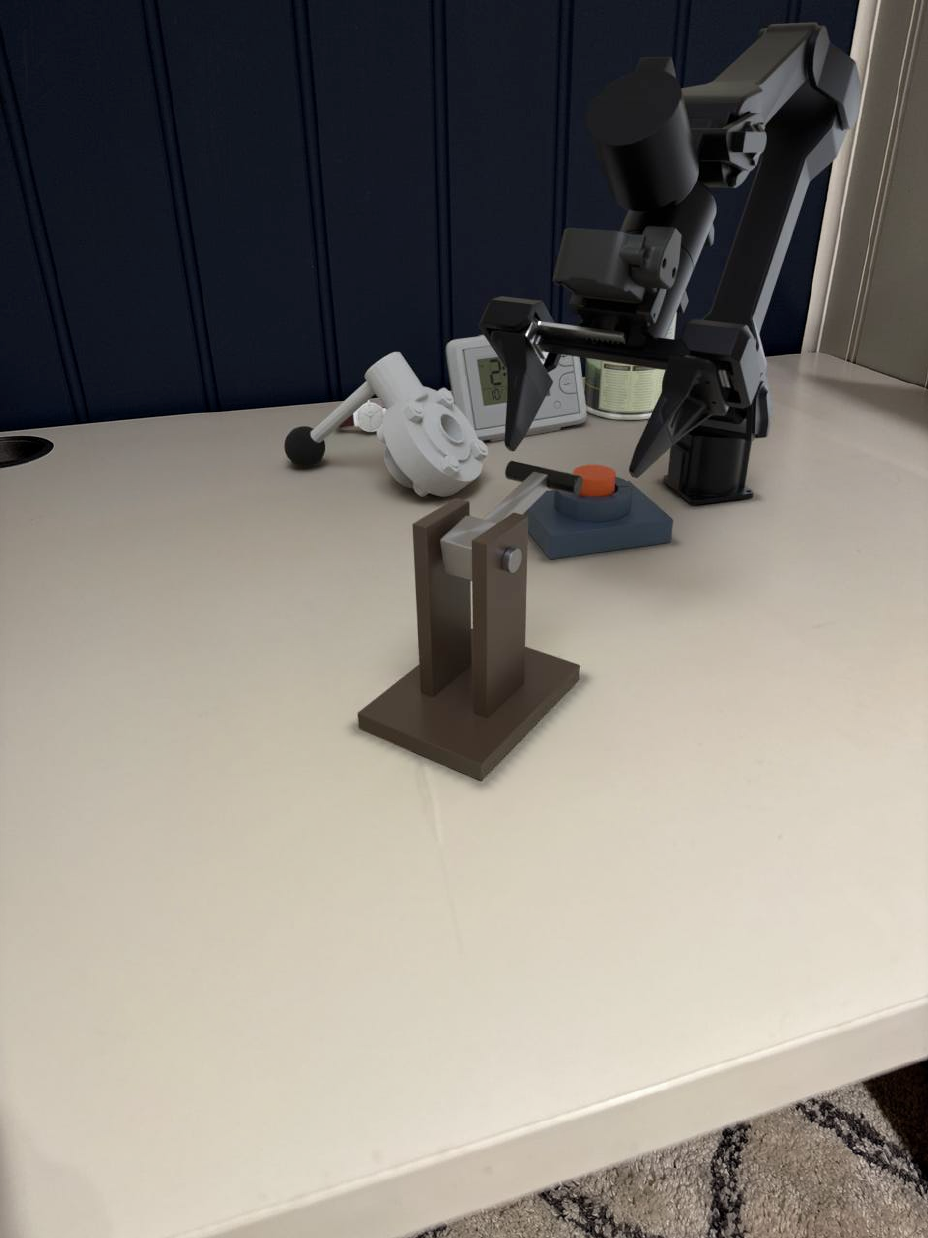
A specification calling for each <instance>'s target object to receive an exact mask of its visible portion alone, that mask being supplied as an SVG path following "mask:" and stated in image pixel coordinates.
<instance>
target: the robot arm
mask: <svg viewBox="0 0 928 1238" xmlns="http://www.w3.org/2000/svg"><path fill="white" fill-rule="evenodd" d="M857 65H858V64H857V62H856V60H855V59H854V58H852V57H851V56H849V55H848V54H847V53H845V52H844V51H843V50H841V48H839V47H837V46H836V45H835V44H833V43H832V42H831V41H830V37H829V33H828V29H827V27H826V25H818V23H817V22H816V21H815V22H797V23H795V22H794V23H776V24H775V23H773V24H769V25H768V27H766V28H760V30H759V31H758V32H757V35H756V38H755V39H754V43H752V45H750V46H749V47H748V48H747V49H746V50H745V51H744V52H743V53H742V54H741V55H739V56H738V57H737V59H735V60H734V61H733V62H732V63H730V65H728V67H727V68H726V69H725V70H724V71H722V72H721V73H720V74H719V75H718V76H717V77H716V78H715V79H714V80H713V81H710V82H707V83H705V84H704V83H703V84H699V85H693V86H689V87H683V88H682V87H681V83H680V81H679V80H678V79H677V77H676V70H675V65H674V61H673V59H672V56H652V57H651V56H649V57H640V58H639V61H638V63H637V66H636V68H635V70H634V71H631V72H628V73H627V74H625V75H622V76H620V77H619V78H617V79H616V80H614V81H612V82H611V83H609V85H607V86H606V87H605V88H603V89H602V90H601V92H600V93H599V94H598V95H597V96H594V97H593V98H592V99H591V101H590V104H589V105H588V108H587V110H586V111H587V112H586V114H585V115H586V116H585V126H586V129H587V131H588V134H589V137H590V140H591V142H592V145H593V149H594V151H595V153H596V157H597V159H598V163H599V165H600V167H601V171H602V174H603V177H604V179H605V182H606V184H607V188H608V190H609V193H610V196H611V199H612V201H613V202H614V203H616V204H617V205H618V206H619V207H621V208H623V209H625V210H627V213H626V214H625V217H624V219H623V222H622V224H621V226H620V229H619V230H607V229H596V228H595V229H593V228H580V227H579V228H578V227H567V228H565V229H564V230H563V234H562V238H561V243H560V247H559V251H558V254H557V255H558V256H557V259H556V263H555V268H554V272H553V276H552V283H553V284H554V285H556V286H562V287H563V288H564V289H566V290H568V291H569V292H571V293H572V294H571V297H570V299H569V301H568V305H569V307H570V309H571V311H572V314H574V315H579V316H580V318H581V320H580V323H579V325H573V324H563V323H558V322H555V321H554V319H553V317H552V316H551V314H550V312H549V310H548V308H547V306H546V304H545V302H544V301H543V300H538V299H537V300H536V299H529V298H520V297H511V296H502V295H501V296H497V297H495V298H492V299H491V300H490V301H489V303H488V304H487V305H486V306H485V308H484V311H483V314H482V316H481V318H480V320H479V323H478V325H477V327H478V329H479V330H480V331H481V333H482V335H484V336H485V337H486V339H487V340H488V342H489V343H490V345H491V346H492V348H493V349H494V351H495V352H496V354H497V355H498V357H499V359H500V360H501V362H502V363H503V365H504V366H506V369H507V406H506V424H505V440H503V441H504V446H505V447H506V448H507V450H508V451H509V452H516V450H517V449H518V447H519V446H520V444H521V443H522V441H523V440H524V439H525V437H526V436H525V435H526V433H527V432H528V430H529V428H530V426H531V424H532V422H533V420H534V418H535V416H536V414H537V412H538V411H539V409H540V407H541V405H542V403H543V401H544V399H545V397H546V395H547V393H548V392H549V390H550V388H551V386H552V384H553V380H552V379H551V377H550V375H549V374H548V373H549V372H550V371H552V370H554V369H555V368H556V367H557V365H558V363H559V360H560V358H561V356H562V355H569V356H576V357H580V358H581V359H582V358H583V359H586V358H589V359H596V360H603V361H609V362H614V363H621V364H627V365H634V366H641V367H647V368H654V369H661V370H665V373H664V376H663V381H662V392H661V395H660V397H659V399H658V401H657V403H656V405H655V407H654V410H653V412H652V414H651V416H650V418H649V419H647V420H648V421H647V422H646V425H645V427H644V429H643V431H642V434H641V436H640V438H639V440H638V442H637V444H636V447H635V449H634V451H633V455H632V458H631V461H630V464H629V468H628V472H629V474H630V477H631V478H635V479H639V478H640V477H641V476H642V475H643V474H644V473H645V472H646V471H647V470H649V469H650V467H652V465H654V464H655V463H656V462H657V461H658V460H659V459H660V458H662V456H664V454H665V453H666V452H668V451H669V459H668V467H667V469H668V470H667V474H665V475H663V477H662V482H664V484H666V485H667V486H668V487H670V488H671V489H672V490H673V491H675V493H677V494H678V495H679V496H681V497H682V498H683V499H684V500H686V501H687V502H688V503H689V504H691V505H704V504H711V503H718V502H719V503H720V502H724V501H725V502H727V501H734V500H741V499H749V498H750V499H751V498H753V497H754V494H755V492H754V490H753V489H751V488H750V487H748V486H747V485H746V484H747V483H746V482H747V476H748V469H749V463H750V456H751V450H752V444H753V443H752V442H754V441H755V440H756V439H764V438H768V436H769V433H770V426H771V420H772V411H773V408H774V407H773V405H774V404H773V399H772V396H771V391H770V386H769V381H768V376H767V374H766V373H767V369H768V363H767V359H766V356H765V352H764V348H763V344H762V340H761V336H760V333H761V329H762V326H763V323H764V320H765V317H766V314H767V312H768V308H769V305H770V302H771V299H772V296H773V292H774V291H775V290H774V289H775V287H776V284H777V280H778V279H779V274H780V272H781V268H782V266H783V263H784V260H785V256H786V253H787V250H788V249H789V245H790V242H791V239H792V237H793V232H794V230H795V228H796V227H795V226H796V224H797V220H798V217H799V215H800V211H801V208H802V206H803V202H804V199H805V196H806V193H807V190H808V187H809V185H810V182H811V181H812V180H813V179H814V178H816V177H817V176H818V175H819V174H820V173H821V172H822V171H824V169H826V168H827V167H828V166H829V165H830V164H831V163H833V162H834V161H835V160H836V159H837V157H838V155H839V153H840V150H841V148H842V145H843V143H844V140H845V138H846V135H847V133H848V131H849V130H852V129H853V128H854V126H855V124H856V122H857V119H858V116H859V111H860V107H861V100H862V84H861V80H860V79H861V78H860V73H859V69H858V66H857ZM759 159H760V160H759ZM758 162H759V163H758ZM757 165H758V167H757V171H756V173H755V176H754V179H753V182H752V185H751V188H750V191H749V194H748V198H747V200H746V202H745V206H744V209H743V212H742V215H741V218H740V221H739V224H738V227H737V230H736V233H735V236H734V239H733V243H732V246H731V247H730V251H729V254H728V257H727V261H726V263H725V266H724V269H723V271H722V274H721V278H720V281H719V284H718V286H717V290H716V293H715V297H714V300H713V303H712V305H711V308H710V310H709V312H708V313H707V314H706V315H705V316H704V317H703V318H701V319H699V318H694V319H689V320H688V321H687V323H685V325H684V326H683V328H682V329H681V332H680V336H679V339H675V338H674V339H667V338H666V336H667V333H668V331H669V329H670V326H671V324H672V321H673V319H674V316H675V314H676V312H677V314H685V310H686V308H687V306H688V303H689V298H688V295H687V291H686V290H687V287H688V284H689V282H690V280H691V278H692V274H693V272H694V270H695V268H696V265H697V262H698V260H699V257H700V255H701V253H702V250H703V247H712V245H714V241H715V227H714V221H715V219H716V218H715V217H716V215H717V203H716V200H715V198H714V195H713V193H712V191H711V189H710V188H722V189H723V188H724V189H725V188H726V189H727V188H728V189H737V188H738V187H740V186H741V185H742V184H743V183H744V182H745V180H746V179H747V177H748V176H749V174H750V172H751V171H753V170H754V169H755V167H756V166H757Z"/></svg>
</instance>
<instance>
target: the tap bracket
mask: <svg viewBox="0 0 928 1238" xmlns="http://www.w3.org/2000/svg"><path fill="white" fill-rule="evenodd" d="M470 505H471V504H470V501H469V500H466V499H463V498H462V499H461V498H458V497H455V498H453V499H452V500H450V501H448V502H447V503H445V504H444V505H442V506H440V507H439V508H437V509H435V510H433V511H432V512H430V513H429V514H427V515H425V516H423V517H422V518H420V519H418V520H417V521H415V522H413V523H412V545H413V547H412V548H413V565H414V566H413V567H414V586H415V604H416V605H415V607H416V627H417V628H416V629H417V646H418V647H417V648H418V665H416V666H415V667H414V668H412V669H411V670H409V671H408V672H407V673H406V674H405V675H404V676H402V677H401V678H400V679H398V680H397V681H396V682H395V683H393V684H392V685H391V686H390V687H388V688H387V689H386V690H384V691H383V692H381V694H379V695H378V696H377V697H376V698H374V699H373V700H372V701H371V702H369V703H368V704H367V705H366V706H364V707H362V709H360V710H359V711H358V712H357V723H358V724H357V725H358V728H359V729H360V730H362V731H364V732H367V733H369V734H372V735H373V736H375V737H377V738H381V739H383V740H386V741H388V742H390V743H392V744H395V745H397V746H399V747H402V748H404V749H406V750H408V751H411V752H413V753H415V754H418V755H420V756H422V757H425V758H427V759H429V760H431V761H434V762H436V763H438V764H441V765H443V766H446V767H448V768H450V769H452V770H455V771H457V772H460V773H461V774H464V775H467V776H469V777H471V778H473V779H476V780H478V781H482V780H483V779H484V778H485V777H486V776H487V775H488V774H489V773H490V772H491V771H492V770H493V769H494V768H495V767H496V766H497V765H498V764H499V763H500V762H501V760H503V759H504V758H505V757H506V756H507V755H508V754H509V752H510V751H512V749H514V748H515V747H516V746H517V744H518V743H519V742H520V741H521V740H522V739H523V738H524V737H525V736H526V735H527V734H528V733H529V732H530V731H531V730H532V729H533V728H534V726H536V725H537V724H538V722H539V721H540V720H541V719H543V717H544V716H546V714H548V712H549V711H550V710H551V709H552V708H553V707H554V706H555V705H557V703H558V702H559V701H560V700H561V699H562V698H563V697H564V696H565V695H566V693H568V692H569V690H570V689H571V688H573V686H575V684H576V683H577V682H578V681H579V680H580V672H581V670H580V669H581V665H580V664H579V663H575V662H572V661H570V660H567V659H564V658H561V657H558V656H554V655H551V654H548V653H546V652H543V651H540V650H537V649H534V648H530V647H527V646H526V628H527V627H526V626H527V624H526V623H527V583H528V582H527V581H528V538H529V537H528V536H529V535H528V534H529V532H528V516H526V515H522V514H518V513H512V514H510V515H509V516H507V517H506V518H504V519H503V520H501V521H500V522H499V523H497V524H496V525H494V526H493V527H491V528H490V529H488V530H487V531H485V532H484V533H482V534H481V535H479V536H478V537H476V538H475V539H473V540H472V581H469V580H466V579H463V578H459V577H456V576H453V575H450V574H446V573H445V571H444V564H443V558H442V551H441V545H440V539H441V538H442V537H443V536H444V535H445V534H446V533H447V532H449V531H450V530H451V529H452V528H453V527H454V526H455V525H456V524H457V523H458V522H459V521H460V520H461V519H463V518H464V517H465V516H466V515H467V516H470V515H471V514H470V512H471V511H470Z"/></svg>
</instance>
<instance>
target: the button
mask: <svg viewBox="0 0 928 1238" xmlns="http://www.w3.org/2000/svg"><path fill="white" fill-rule="evenodd" d="M572 474H574V475H579V476H581V477H582V479H583V485H582V489H581V491H580V493H579V495H582V496H591V497H601V496H609V495H611V494H614V491H615V478H616V477H617V476H616V475H617V472H616V471H615V470H614V469H613V468H612V467H609V466H607V465H602V464H585V465H580V466H578V467H576V468H574V470H573V472H572Z"/></svg>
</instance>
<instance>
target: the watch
mask: <svg viewBox="0 0 928 1238" xmlns="http://www.w3.org/2000/svg"><path fill="white" fill-rule="evenodd" d="M385 411H386V408H385V407H384V406H383V407H382V406H380V405H379V404H378V403H375V402H371V399H369V400H368V401H367V402H366V403H364V404H363V405H362V406H361V407H360V408H359V409H358V410H356V411H355V412H354V413H353V414H352V415H351V416H350V417H349V418H347V419H346V420H345V421H344V422H343V423H342V424H341V425H340V426H338V427H337V428H341V427H342V428H343V427H354V428H356V427H358V428H360V429H361V430H362V431H364V432H367V433H374V432H375V433H376V432H377V429H379V428H380V427H381V426H382V420H383V416H384V413H385Z"/></svg>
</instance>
